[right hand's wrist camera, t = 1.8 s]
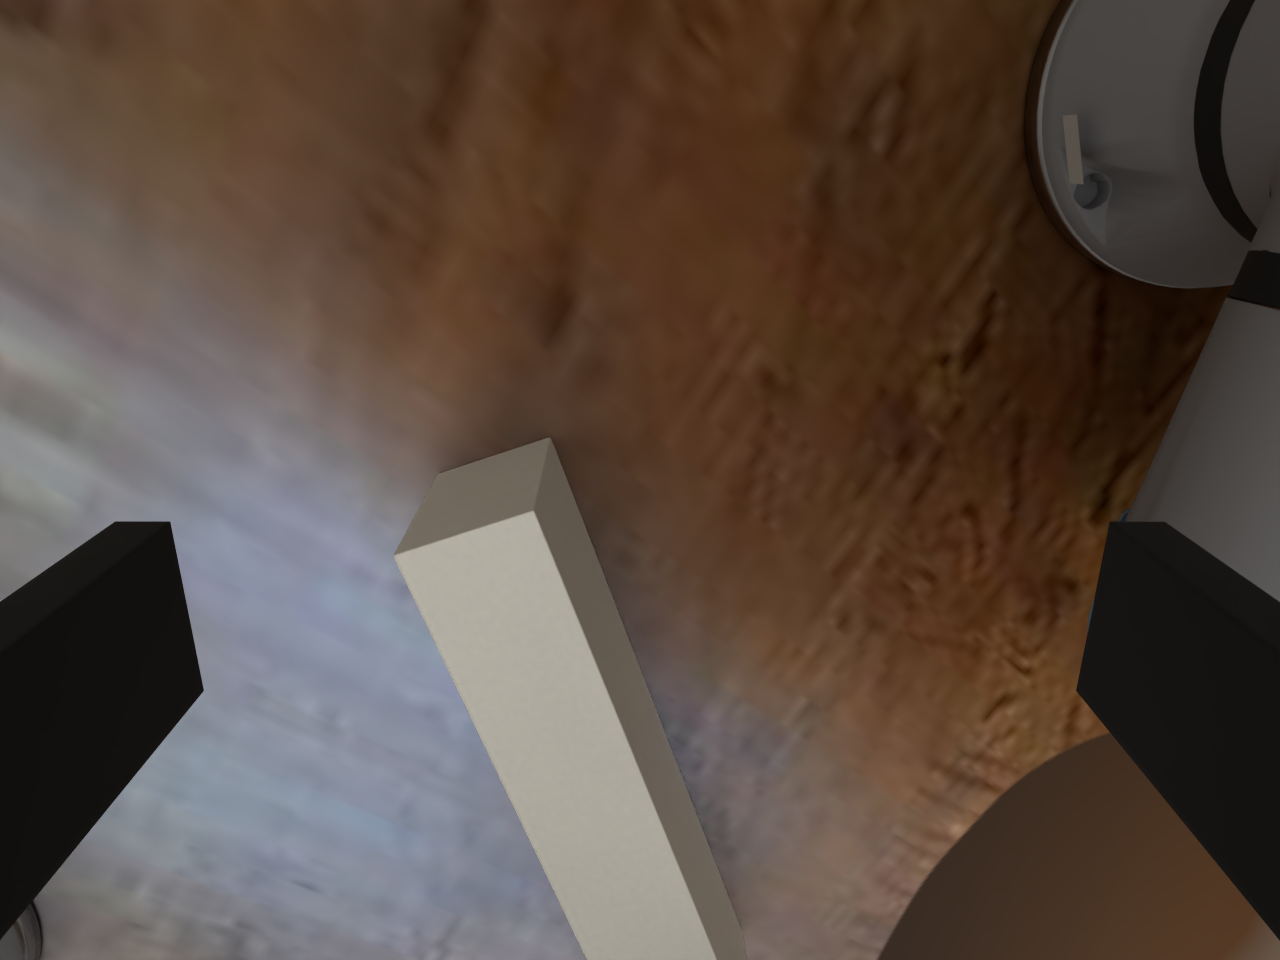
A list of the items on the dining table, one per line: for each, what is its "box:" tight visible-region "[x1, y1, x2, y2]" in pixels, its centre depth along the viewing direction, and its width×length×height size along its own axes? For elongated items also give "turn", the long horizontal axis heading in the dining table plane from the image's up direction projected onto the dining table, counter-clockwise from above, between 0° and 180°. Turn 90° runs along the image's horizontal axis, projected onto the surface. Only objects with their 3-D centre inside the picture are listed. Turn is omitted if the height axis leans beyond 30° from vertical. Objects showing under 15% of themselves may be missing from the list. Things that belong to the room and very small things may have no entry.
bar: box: [394, 437, 747, 960], centre depth 43 cm, size 32×6×9 cm, turn 18°
